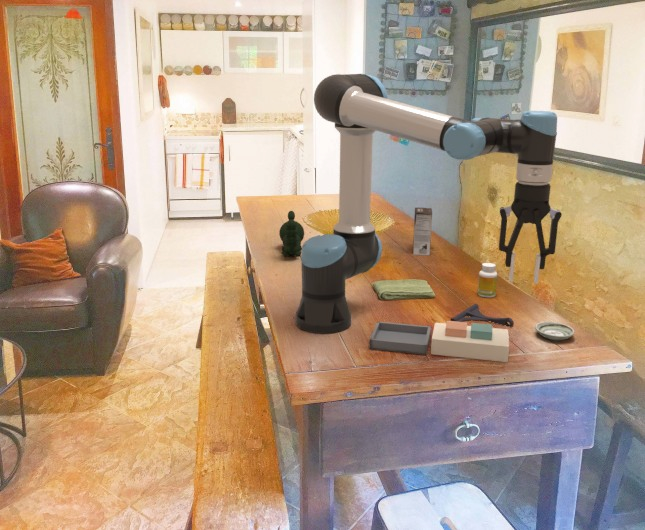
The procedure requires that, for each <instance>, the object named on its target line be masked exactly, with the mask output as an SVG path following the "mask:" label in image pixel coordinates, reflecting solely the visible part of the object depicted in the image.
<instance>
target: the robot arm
mask: <svg viewBox="0 0 645 530" xmlns="http://www.w3.org/2000/svg"><path fill="white" fill-rule="evenodd" d="M313 102H314V103H313V104H314V107H315V110H316V111H317V113H318V115H319V116H321V118H322V119H324V120H325V121H326V122H331V123H334V128H335V129H336V130H337V132H338V133H339V135H340V136H339V141H340V142H339V144H340V145H339V191H338V192H339V193H338V194H339V195H338V196H339V198H338V199H339V200H338V201H339V203H338V221H337V223H335V224H334V225H333V228H332V230H333V232H332V233H333V234H331V233H330V234H329V233H327V234H326V233H325V234H322V235H319V234H318V235H315V236H312V237H310V238H308V239H307V240H305V241H304V242H303V244H302V245H301V247H302V250H301V255H300V262H301V298H300V301H299V304H298V307H297V309H296V314H295V324H296V326H297V327H298V328H299V329H301V330H303V331H305V332H308V333H315V334H317V333H319V334H331V333H332V334H333V333H338V332H342V331H345V330H347V329H348V328H350V327H351V325H352V313H351V309H350V306H349V303H348V301H347V298H346V280H348V279H351V278H353V277H355V276H357V275H360V274H364V273H366V272H368V271H370V270H371V269H373V268H374V267H375V266H377V264H378V263H379V262H380V259H381V257H382V253H383V245H382V241H381V239H379V238H378V237H379V236H378V234H377V233H376V227H375V226H374V224H373V223H372V222H371V199H372V197H371V196H372V166H373V165H372V164H373V163H372V162H373V137H374V136H373V134H374V133H375V132H380V133H383V134H387V135H391V136H394V137H396V138H400V139H404V140H407V141H410V142H413V143H416V144H420V145H425V146H427V147H429V148H434V149H436V150H441V151H443V152H446V153H447V155H448V156H450V158H453V159H455V160H464V161H465V160H466V161H467V160H471V159H474V158H476V157H481V156H484V155H485V156H486V155H488V154H494V153H500V154H511V155H512V154H513V155H517V164H516V175H515V180H516V181H517V182H516V183H515V185H514V195H513V202H512V203H511V205H509V206H505V207H504V206H501V207H500V208H499V215H500V217H501V220H500V222H501V223H500V231H499V241H498V242H499V243H498V249H499V251H500V252H503V253H505V267H506V268H509V272H508V273H509V274H508V282H509V283H513V281H514V280H513V279H514V270H515V261H516V260H515V259H516V253H515V251H514V248H515V245H516V243H517V240H518V238H519V236H520V232H521V229H522V227H523V226H524V224H532V225H535V229H536V236H537V241H538V246H539V247H538V248H539V253H538V252H537V253H536V256H535V264H534V272H533V284H537V285H538V284H539V275H540V270H544V269H545V268H546V267H545V266H546V259H547V256H549V255H554V254H555V252H556V245H557V236H558V225H559V222H560V219H561V218H562V212H561V210H559V209H557V210H556V209H554V208H551V205H550V194H551V187H552V186H551V185H550V182H551V181H552V175H553V166H554V156H555V149H556V141H557V136H558V131H557V127H558V115H557V114H556V113H555V112H554V111H549V110H548V111H547V110H525V111H523V112H522V114H521V117H520V118H519V119H510V118H509V119H508V118H493V117H492V118H491V117H475V118H472V119H471V120H467V119H464V118H459V117H455V116H453V115H449V114H445V113H442V112H437V111H433V110H430V109H427V108H422V107H419V106H415V105H411V104H408V103H404V102H401V101H396V100H393V99H389V98H388V93H387V89H386V87H385V85H384V84H383V83H382V82H381V80H380V79H378V78H377V77H376V76H374V75H371V74H366V73H351V74H350V73H348V74H345V73H344V74H340V73H336V74H331V75H329V76H326V77H325V78H323V79H322V80H321V81H320V82H319V84H318V85H317V86H316V88H315V90H314V95H313ZM511 212H512V213H513V214H514V215H515V218H516V222H515V225H514V228H513V230H512V232H511V235H510V239H509V240H508V244H506V236H507V227H508V217H510V215H511ZM548 214H549V218H550V220H551V221H550V229H549V241H548V247H546V243H545V239H544V231H543V226H542V220H543V219H544V218H545V217H546V216H548Z"/></svg>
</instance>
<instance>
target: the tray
mask: <svg viewBox="0 0 645 530" xmlns="http://www.w3.org/2000/svg"><path fill="white" fill-rule="evenodd" d="M431 331H432V326H430V325H429V326H427V325H418V324H407V323H396V322H387V321H376V324H375V326H374V329H373V331H372V333H371V335H370V337H369V343H368V344H369V346H368V349H369V350H376V351H384V352H385V351H386V352H396V353H406V354H415V355H422V356H423V355H425V356H427V353H428V349H429V346H430V341H431V337H432V336H431V335H432V333H431Z"/></svg>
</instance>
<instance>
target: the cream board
mask: <svg viewBox="0 0 645 530" xmlns="http://www.w3.org/2000/svg"><path fill="white" fill-rule="evenodd" d="M445 329H446V323H444V322H443V323H442V322H435V323H434V327H433V331H432V334H431V335H432V336H431V345H430V346H431V347H430V355H435V356H445V357H454V358H463V359H466V358H467V359H474V360H483V361H493V362H502V363H509V354H510V338H509V329H505V328H496V327H495V328H494V327H492V340H484V339H474V338H470V335H471V325H467V332H466V338H464V337H453V336H445Z"/></svg>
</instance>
